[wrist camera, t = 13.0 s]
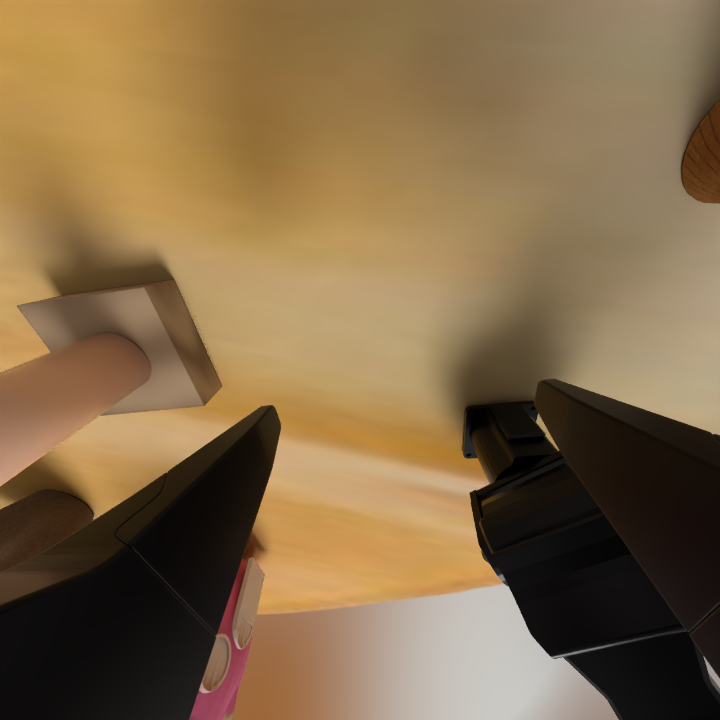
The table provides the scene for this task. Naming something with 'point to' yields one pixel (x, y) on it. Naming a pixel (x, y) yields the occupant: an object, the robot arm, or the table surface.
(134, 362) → the pillar
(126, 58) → the table surface
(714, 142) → the disposable coffee cup
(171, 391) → the base
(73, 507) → the plant pot
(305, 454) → the table surface
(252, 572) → the pink dragon fruit
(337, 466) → the table surface
